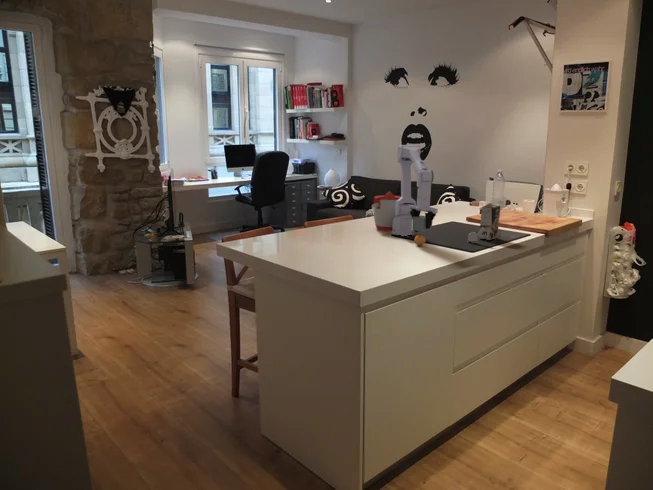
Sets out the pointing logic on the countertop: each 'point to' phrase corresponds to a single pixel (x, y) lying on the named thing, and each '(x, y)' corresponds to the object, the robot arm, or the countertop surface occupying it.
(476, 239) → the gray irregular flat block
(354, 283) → the countertop surface
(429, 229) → the grey-green cube
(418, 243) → the ball
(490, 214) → the coffee box
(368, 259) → the countertop surface
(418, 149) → the robot arm
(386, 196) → the citrus juicer
